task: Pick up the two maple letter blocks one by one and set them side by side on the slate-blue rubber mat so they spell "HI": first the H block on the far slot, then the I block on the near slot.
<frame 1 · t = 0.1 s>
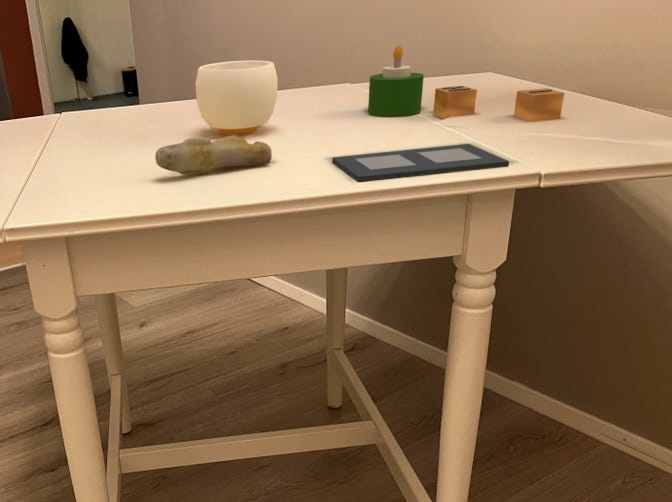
figurine: (211, 172, 90), on the table
cup: (238, 133, 110), on the table
candle: (394, 113, 115), on the table
tile I: (535, 120, 102), on the table
tile H: (453, 116, 109), on the table
word mat: (416, 164, 86), on the table
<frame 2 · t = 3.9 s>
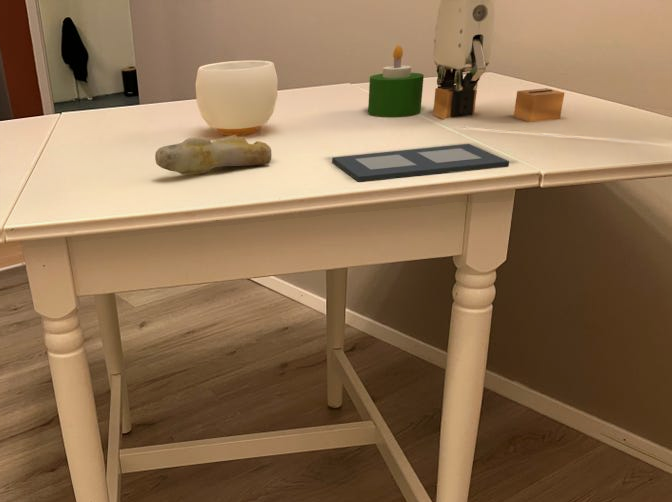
hand: (453, 113, 109), 0 cm above the table, tool pointing down, fingers closed on tile H, 4 cm apart
tile H: (453, 116, 109), on the table, touching gripper
everything else where it was.
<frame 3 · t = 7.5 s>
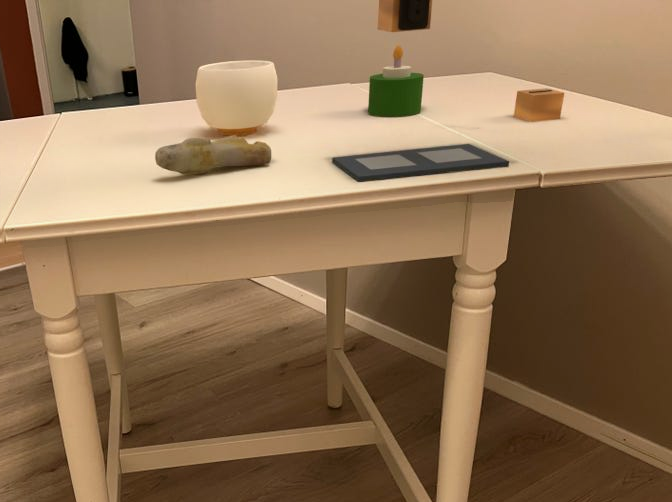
hand: (403, 25, 81), 15 cm above the table, tool pointing down, fingers closed on tile H, 4 cm apart
tile H: (403, 29, 81), point 15 cm above the table, touching gripper
everything else where it was.
when the fingers open (1 cm above the table, at t = 11.3 s): tile H stays where it is, resting on word mat.
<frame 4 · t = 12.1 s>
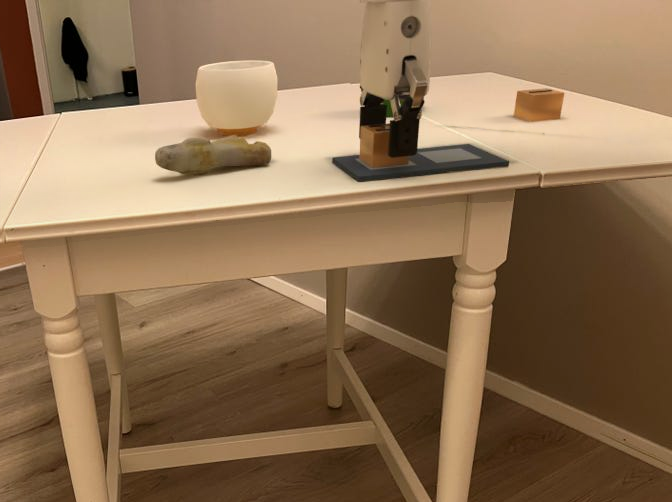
hand: (386, 147, 84), 2 cm above the table, tool pointing down, fingers open, 9 cm apart
tile H: (383, 161, 85), point 1 cm above the table, touching word mat
everything else where it was.
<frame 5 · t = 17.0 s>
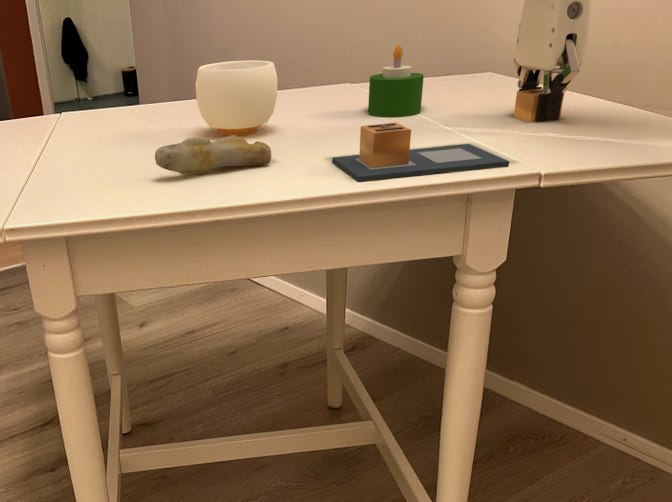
hand: (536, 118, 102), 0 cm above the table, tool pointing down, fingers closed on tile I, 4 cm apart
tile I: (535, 120, 102), on the table, touching gripper
everything else where it was.
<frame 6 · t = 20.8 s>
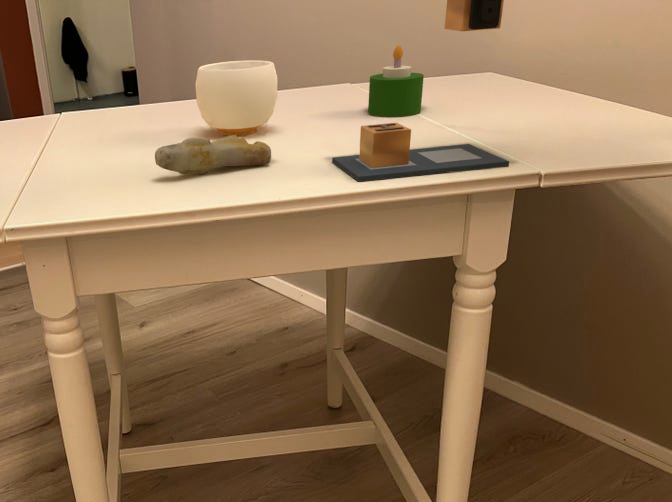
hand: (472, 25, 80), 15 cm above the table, tool pointing down, fingers closed on tile I, 4 cm apart
tile I: (471, 28, 81), point 14 cm above the table, touching gripper
everything else where it was.
when the fingers open (1 cm above the table, at t = 24.4 s): tile I stays where it is, resting on word mat.
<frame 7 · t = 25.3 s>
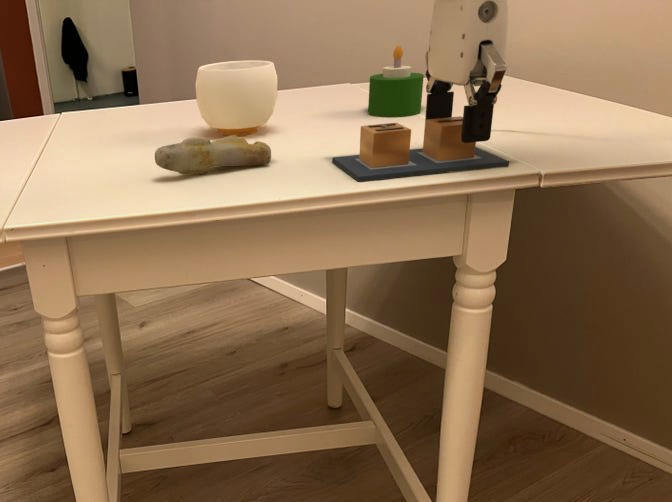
hand: (455, 133, 84), 3 cm above the table, tool pointing down, fingers open, 9 cm apart
tile I: (447, 155, 86), point 1 cm above the table, touching word mat
everything else where it was.
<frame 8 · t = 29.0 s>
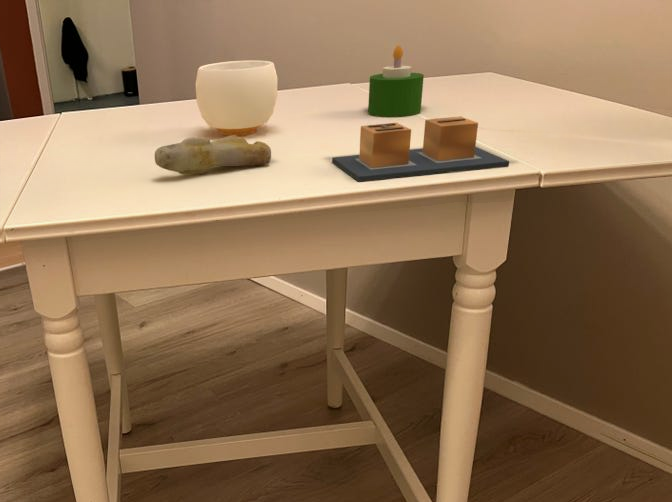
nothing on the table moved.
at the end: tile H 0.2 cm from the target spot on the word mat, point 0.7 cm above the word mat's base; tile I 0.2 cm from the target spot on the word mat, point 0.7 cm above the word mat's base; tile I tilted 0° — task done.
